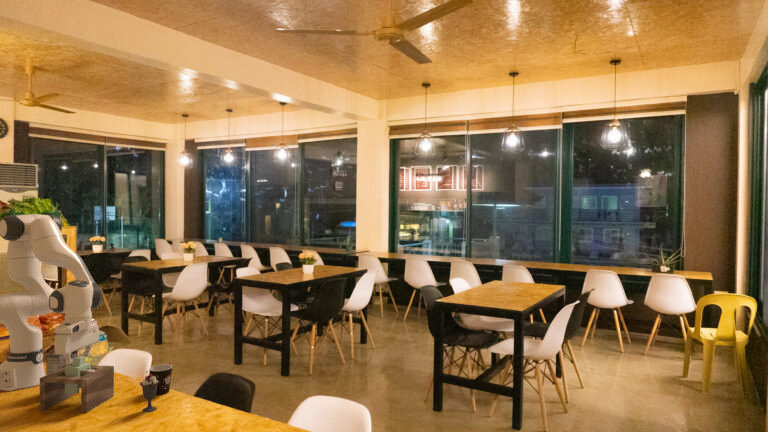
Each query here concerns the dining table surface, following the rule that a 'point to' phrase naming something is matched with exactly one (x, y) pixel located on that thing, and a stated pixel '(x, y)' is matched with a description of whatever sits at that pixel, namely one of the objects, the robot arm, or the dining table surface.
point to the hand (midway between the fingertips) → (78, 359)
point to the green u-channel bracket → (76, 373)
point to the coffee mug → (162, 377)
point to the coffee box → (57, 362)
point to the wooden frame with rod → (93, 387)
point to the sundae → (149, 390)
